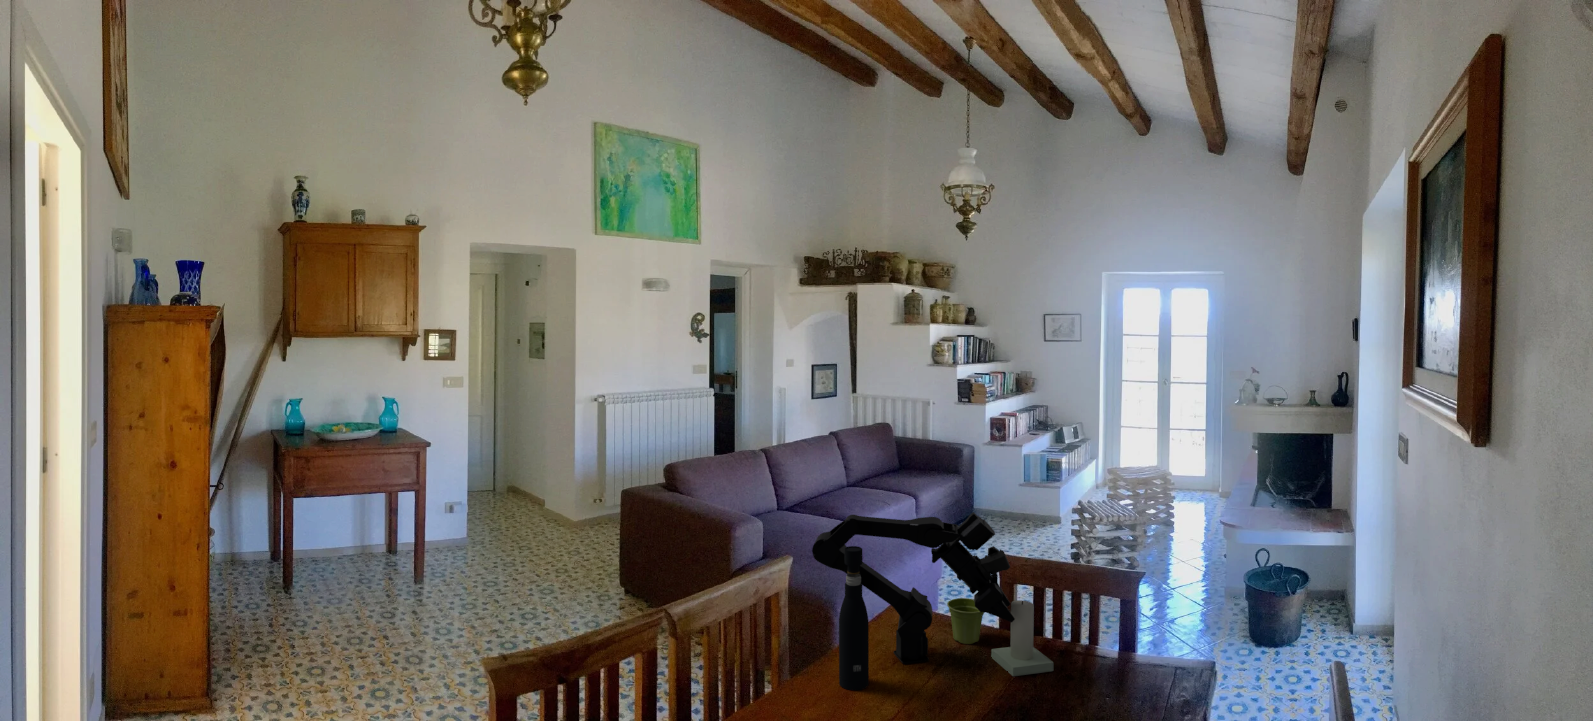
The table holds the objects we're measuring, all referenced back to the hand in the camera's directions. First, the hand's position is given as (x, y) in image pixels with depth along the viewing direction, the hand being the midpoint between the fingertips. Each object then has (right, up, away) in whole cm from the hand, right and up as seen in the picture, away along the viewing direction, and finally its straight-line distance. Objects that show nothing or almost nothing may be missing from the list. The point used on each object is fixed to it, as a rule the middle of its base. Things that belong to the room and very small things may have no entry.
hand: (1011, 612), depth 188 cm
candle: (+3, -10, 0) cm, 10 cm away
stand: (+3, -12, +1) cm, 12 cm away
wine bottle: (-36, -13, -8) cm, 40 cm away
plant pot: (-7, -11, +15) cm, 20 cm away
